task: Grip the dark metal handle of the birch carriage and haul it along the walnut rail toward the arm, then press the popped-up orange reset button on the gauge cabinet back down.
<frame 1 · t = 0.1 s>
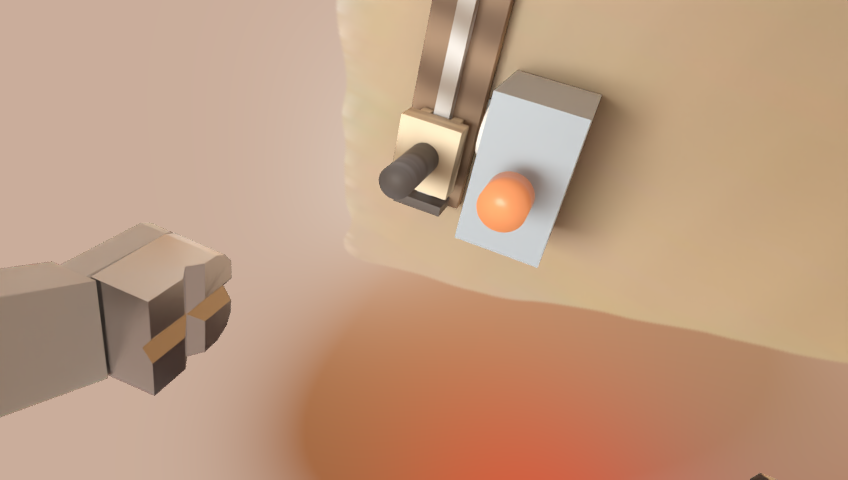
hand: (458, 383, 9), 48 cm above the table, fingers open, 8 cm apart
rail: (457, 74, 56), on the table
carriage: (417, 163, 53), point 7 cm above the table, slide at 7.0 cm
gauge cabinet: (536, 152, 56), on the table
reset button: (505, 201, 45), point 13 cm above the table, slide at 2.5 cm
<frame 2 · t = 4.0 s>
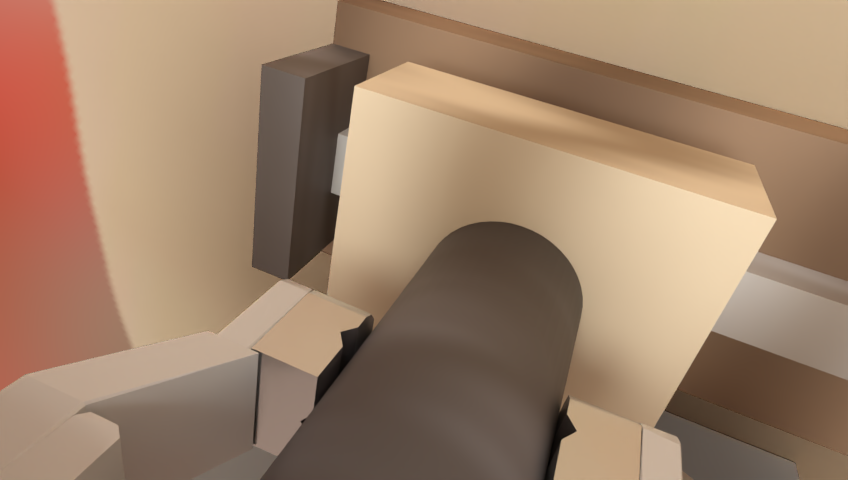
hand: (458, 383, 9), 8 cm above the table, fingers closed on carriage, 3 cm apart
rail: (827, 282, 14), on the table
carriage: (476, 345, 9), point 7 cm above the table, slide at 7.0 cm, touching gripper
gauge cabinet: (520, 452, 20), on the table
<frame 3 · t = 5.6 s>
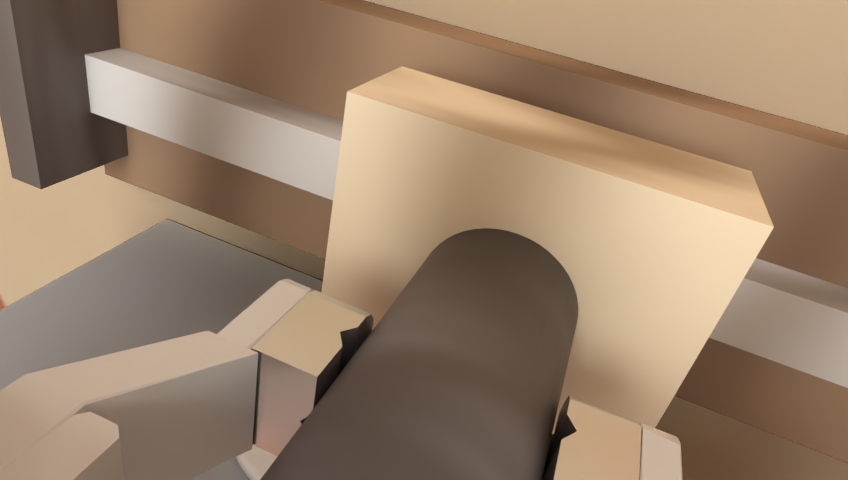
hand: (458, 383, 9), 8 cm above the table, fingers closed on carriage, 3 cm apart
rail: (530, 190, 15), on the table
carriage: (470, 355, 9), point 7 cm above the table, slide at -0.4 cm, touching gripper
gauge cabinet: (326, 374, 21), on the table
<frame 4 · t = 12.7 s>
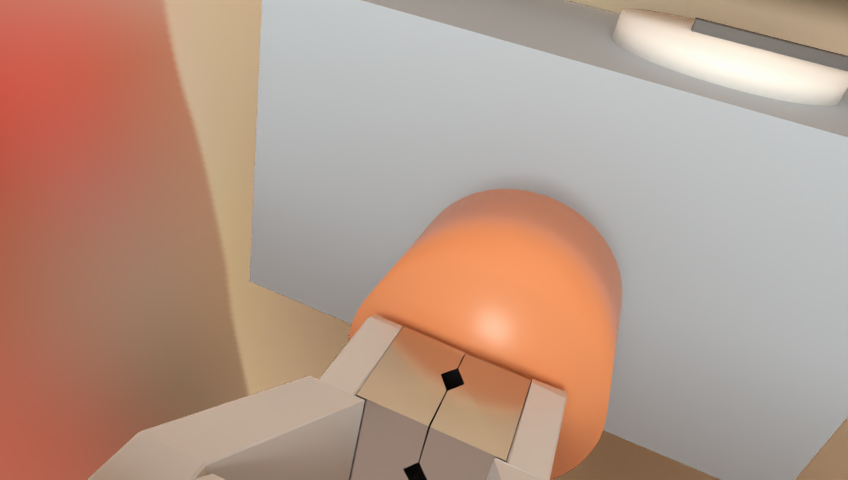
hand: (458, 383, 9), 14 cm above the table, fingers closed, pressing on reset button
gauge cabinet: (582, 135, 20), on the table
reset button: (493, 329, 10), point 12 cm above the table, slide at 1.6 cm, touching gripper
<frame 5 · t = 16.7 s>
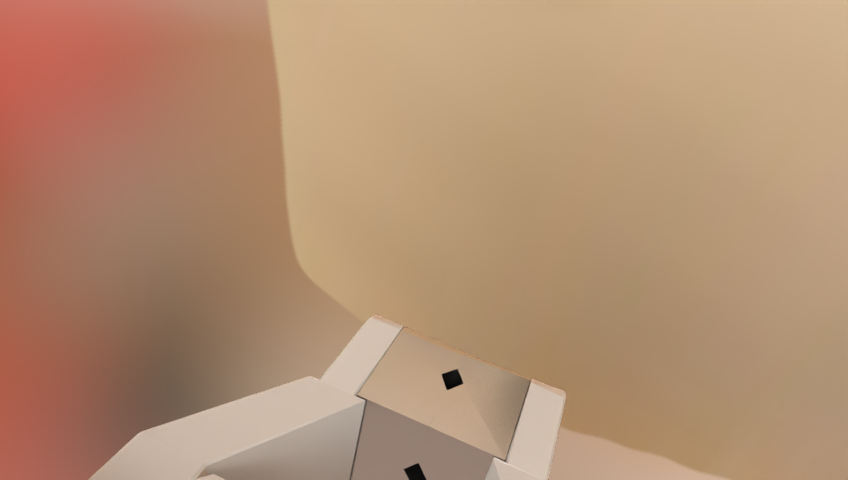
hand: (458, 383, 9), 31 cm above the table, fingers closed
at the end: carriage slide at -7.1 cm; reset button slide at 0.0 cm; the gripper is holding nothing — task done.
